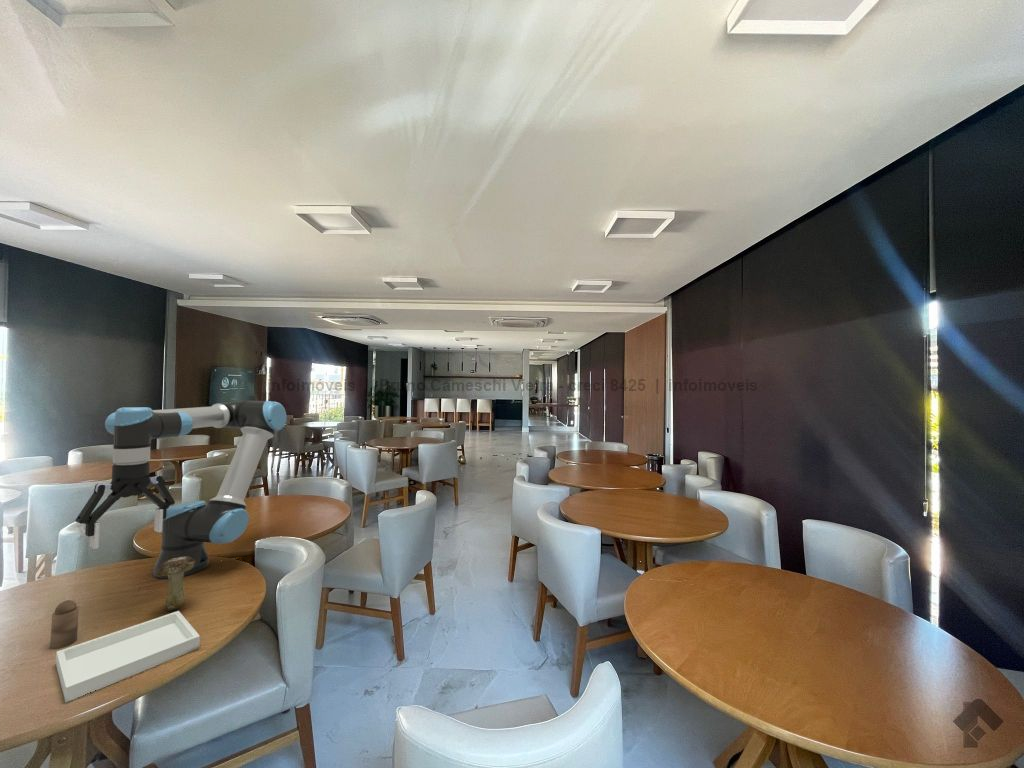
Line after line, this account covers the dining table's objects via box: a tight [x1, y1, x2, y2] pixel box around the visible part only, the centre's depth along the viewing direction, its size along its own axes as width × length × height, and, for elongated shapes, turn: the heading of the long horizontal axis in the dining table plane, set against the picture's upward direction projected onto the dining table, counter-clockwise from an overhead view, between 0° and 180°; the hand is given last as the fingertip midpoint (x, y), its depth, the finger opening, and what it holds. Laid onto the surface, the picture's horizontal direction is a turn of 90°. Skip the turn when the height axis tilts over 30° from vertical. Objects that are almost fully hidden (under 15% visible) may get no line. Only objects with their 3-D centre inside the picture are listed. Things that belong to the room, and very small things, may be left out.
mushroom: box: [155, 556, 195, 612], centre depth 113 cm, size 9×9×15 cm
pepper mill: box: [49, 599, 80, 650], centre depth 97 cm, size 4×4×10 cm
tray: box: [55, 610, 201, 704], centre depth 93 cm, size 22×18×3 cm
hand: (127, 539), depth 108 cm, fingers open, 13 cm apart
